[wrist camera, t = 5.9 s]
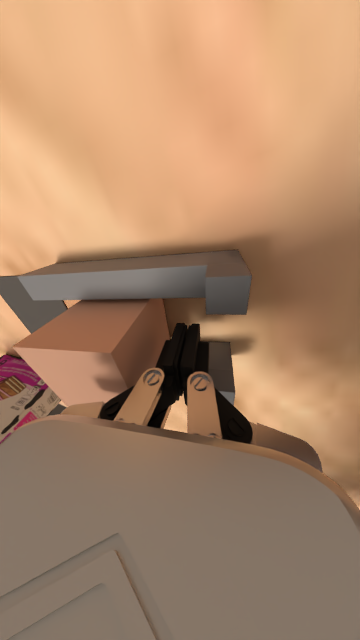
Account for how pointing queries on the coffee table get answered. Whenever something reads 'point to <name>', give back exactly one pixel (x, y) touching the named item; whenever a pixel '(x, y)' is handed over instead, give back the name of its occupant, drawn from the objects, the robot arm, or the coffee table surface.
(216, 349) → the grey u-shaped bracket
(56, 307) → the mat
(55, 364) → the block
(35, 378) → the candy bar box
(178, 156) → the coffee table surface
